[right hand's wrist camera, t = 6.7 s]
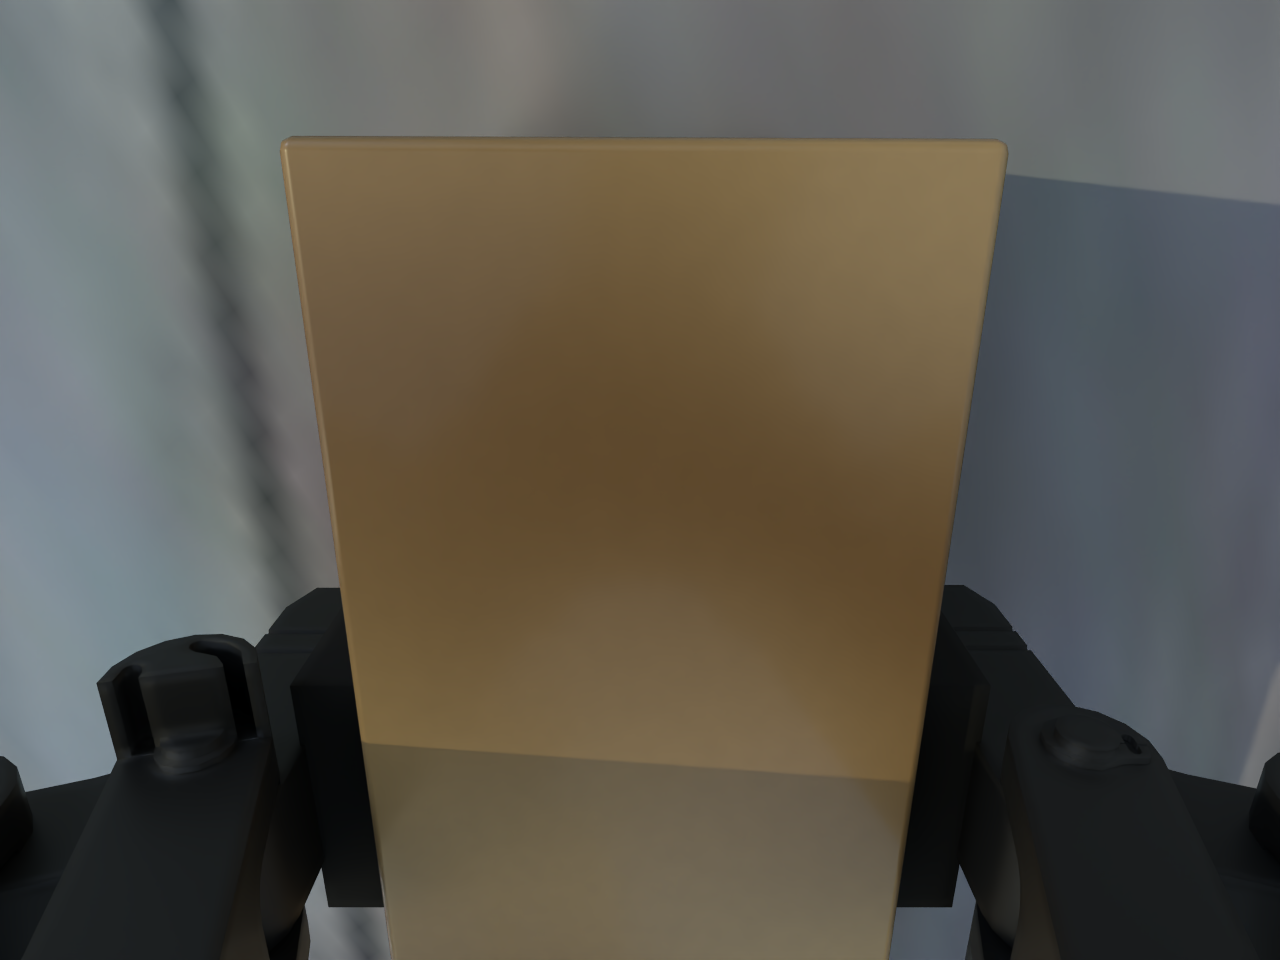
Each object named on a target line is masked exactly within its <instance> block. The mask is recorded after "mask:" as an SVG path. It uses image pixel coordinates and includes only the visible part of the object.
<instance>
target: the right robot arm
mask: <svg viewBox="0 0 1280 960" xmlns="http://www.w3.org/2000/svg"><path fill="white" fill-rule="evenodd" d="M97 687H98V691H99V694H100V698H101V702H102V705H103V709H104V713H105V716H106V720H107V724H108V727H109V731H110V735H111V738H112V742H113V746H114V749H115V753H116V757H117V761H116V763H115V765H114V768H113V770H112V772H111V774H107V775H104V776H100V777H96V778H92V779H87V780H82V781H78V782H73V783H68V784H63V785H58V786H53V787H48V788H44V789H39V790H34V791H29V792H25V790H24V787H23V784H22V781H21V778H20V775H19V772H18V769H17V767H16V766H15V765H14V764H13V763H11V762H10V761H9V760H8V759H6V758H5V757H3V756H0V960H308V957H309V949H310V934H309V927H308V920H307V915H306V910H305V903H306V900H307V898H308V896H309V894H310V891H311V889H312V887H313V885H314V883H315V880H316V878H317V876H318V874H319V871H320V869H321V867H322V872H323V878H324V884H325V889H326V895H327V901H328V907H384V902H383V895H382V888H381V881H380V873H379V866H378V859H377V852H376V844H375V837H374V830H373V823H372V815H371V808H370V801H369V794H368V786H367V779H366V772H365V765H364V757H363V750H362V743H361V736H360V728H359V721H358V714H357V707H356V699H355V692H354V685H353V678H352V670H351V663H350V656H349V649H348V641H347V634H346V627H345V620H344V612H343V605H342V598H341V591H340V588H316V589H315V590H313V591H311V592H310V593H308V594H307V595H305V596H303V597H302V598H300V599H299V600H297V601H296V602H294V603H292V604H291V605H289V606H288V607H286V608H285V610H284V611H283V612H282V614H281V615H280V616H279V617H278V619H277V620H276V621H275V623H274V624H273V625H272V626H271V628H270V629H269V634H265V635H264V637H263V638H262V639H261V640H260V642H259V643H258V644H257V645H256V647H254V646H252V645H251V644H250V643H248V642H247V641H246V640H245V639H242V638H238V637H233V636H229V635H224V634H210V635H193V636H188V637H183V638H178V639H173V640H168V641H164V642H162V643H159V644H156V645H154V646H151V647H148V648H146V649H143V650H140V651H138V652H136V653H134V654H132V655H131V656H129V657H127V658H126V659H124V660H122V661H121V662H119V663H117V664H116V665H114V666H112V667H111V668H110V669H109V670H108V672H107V673H106V674H105V675H104V676H103V677H102V678H101V679H100V680H99V681H98V682H97ZM959 864H960V866H961V868H962V870H963V872H964V875H965V877H966V879H967V881H968V884H969V886H970V888H971V890H972V892H973V895H974V897H975V899H976V904H975V910H974V915H973V920H972V925H971V931H970V936H969V941H968V946H967V952H966V957H965V960H1280V753H1277V754H1276V755H1275V756H1273V757H1272V758H1271V759H1270V760H1268V761H1267V762H1266V763H1265V765H1264V768H1263V771H1262V774H1261V777H1260V780H1259V783H1258V786H1257V789H1256V788H1251V787H1246V786H1241V785H1236V784H1231V783H1226V782H1221V781H1217V780H1212V779H1207V778H1202V777H1197V776H1192V775H1187V774H1184V773H1180V772H1176V771H1172V770H1169V769H1168V768H1167V766H1166V764H1165V762H1164V760H1163V758H1162V757H1161V756H1160V754H1159V753H1158V752H1157V750H1156V749H1155V748H1154V747H1153V745H1152V744H1151V743H1150V741H1149V740H1147V739H1146V738H1145V737H1143V736H1142V735H1140V734H1139V733H1137V732H1136V731H1135V730H1133V729H1132V728H1130V727H1129V726H1128V725H1126V724H1124V723H1122V722H1120V721H1117V720H1115V719H1113V718H1110V717H1108V716H1106V715H1104V714H1101V713H1099V712H1096V711H1091V710H1087V709H1083V708H1079V707H1075V706H1074V704H1073V703H1072V702H1071V700H1070V699H1069V698H1068V697H1067V695H1066V694H1065V693H1064V692H1063V690H1062V689H1061V688H1060V687H1059V685H1058V684H1057V683H1056V682H1055V680H1054V679H1053V678H1052V676H1051V675H1050V674H1049V673H1048V671H1047V670H1046V669H1045V668H1044V666H1043V665H1042V664H1041V663H1040V661H1039V660H1038V659H1037V657H1036V656H1035V655H1034V654H1033V652H1032V651H1031V650H1027V645H1026V644H1025V642H1024V641H1023V640H1022V639H1021V637H1020V636H1019V635H1018V633H1017V632H1016V631H1012V626H1011V625H1010V623H1009V622H1008V621H1007V620H1006V618H1005V617H1004V616H1003V614H1002V613H1001V612H1000V611H999V609H998V608H997V607H996V606H995V604H993V603H992V602H990V601H988V600H987V599H985V598H984V597H982V596H980V595H979V594H977V593H976V592H974V591H972V590H971V589H969V588H968V587H966V586H964V585H944V590H943V597H942V604H941V611H940V617H939V624H938V631H937V638H936V644H935V651H934V658H933V664H932V671H931V678H930V685H929V691H928V698H927V705H926V712H925V718H924V725H923V732H922V739H921V745H920V752H919V759H918V765H917V772H916V779H915V786H914V792H913V799H912V806H911V813H910V819H909V826H908V833H907V840H906V846H905V853H904V860H903V866H902V873H901V880H900V887H899V893H898V900H897V907H952V904H953V898H954V893H955V887H956V881H957V876H958V870H959Z"/></svg>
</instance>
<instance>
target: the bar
mask: <svg viewBox="0 0 1280 960" xmlns="http://www.w3.org/2000/svg"><path fill="white" fill-rule="evenodd" d="M280 156H281V163H282V170H283V177H284V185H285V192H286V199H287V206H288V214H289V221H290V228H291V235H292V243H293V250H294V257H295V264H296V272H297V279H298V286H299V293H300V301H301V308H302V315H303V322H304V330H305V337H306V344H307V351H308V359H309V366H310V373H311V380H312V388H313V395H314V402H315V409H316V417H317V424H318V431H319V438H320V446H321V453H322V460H323V467H324V475H325V482H326V489H327V496H328V504H329V511H330V518H331V525H332V533H333V540H334V547H335V554H336V562H337V569H338V576H339V583H340V591H341V598H342V605H343V612H344V620H345V627H346V634H347V641H348V649H349V656H350V663H351V670H352V678H353V685H354V692H355V699H356V707H357V714H358V721H359V728H360V736H361V743H362V750H363V757H364V765H365V772H366V779H367V786H368V794H369V801H370V808H371V815H372V823H373V830H374V837H375V844H376V852H377V859H378V866H379V873H380V881H381V888H382V895H383V902H384V910H385V917H386V924H387V931H388V939H389V946H390V953H391V960H889V954H890V947H891V941H892V934H893V927H894V920H895V914H896V907H897V900H898V893H899V887H900V880H901V873H902V866H903V860H904V853H905V846H906V840H907V833H908V826H909V819H910V813H911V806H912V799H913V792H914V786H915V779H916V772H917V765H918V759H919V752H920V745H921V739H922V732H923V725H924V718H925V712H926V705H927V698H928V691H929V685H930V678H931V671H932V664H933V658H934V651H935V644H936V638H937V631H938V624H939V617H940V611H941V604H942V597H943V590H944V584H945V577H946V570H947V564H948V557H949V550H950V543H951V537H952V530H953V523H954V516H955V510H956V503H957V496H958V489H959V483H960V476H961V469H962V463H963V456H964V449H965V442H966V436H967V429H968V422H969V415H970V409H971V402H972V395H973V388H974V382H975V375H976V368H977V362H978V355H979V348H980V341H981V335H982V328H983V321H984V314H985V308H986V301H987V294H988V287H989V281H990V274H991V267H992V261H993V254H994V247H995V240H996V234H997V227H998V220H999V213H1000V207H1001V200H1002V193H1003V186H1004V180H1005V173H1006V166H1007V160H1008V149H1007V145H1006V143H1004V142H1002V141H1000V140H997V139H888V138H650V137H412V136H291V137H289V138H287V139H285V140H283V141H282V142H281V148H280Z"/></svg>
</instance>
